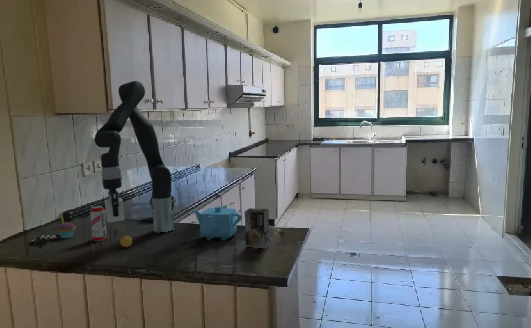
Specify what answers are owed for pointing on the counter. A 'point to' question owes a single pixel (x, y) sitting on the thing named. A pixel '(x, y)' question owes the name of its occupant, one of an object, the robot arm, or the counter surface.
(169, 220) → the robot arm
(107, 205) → the grey rectangular block
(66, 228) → the cupcake
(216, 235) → the teakettle
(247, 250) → the counter surface
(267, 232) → the coffee box
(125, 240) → the ball
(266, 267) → the counter surface
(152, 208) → the flowerpot
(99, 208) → the beer can
